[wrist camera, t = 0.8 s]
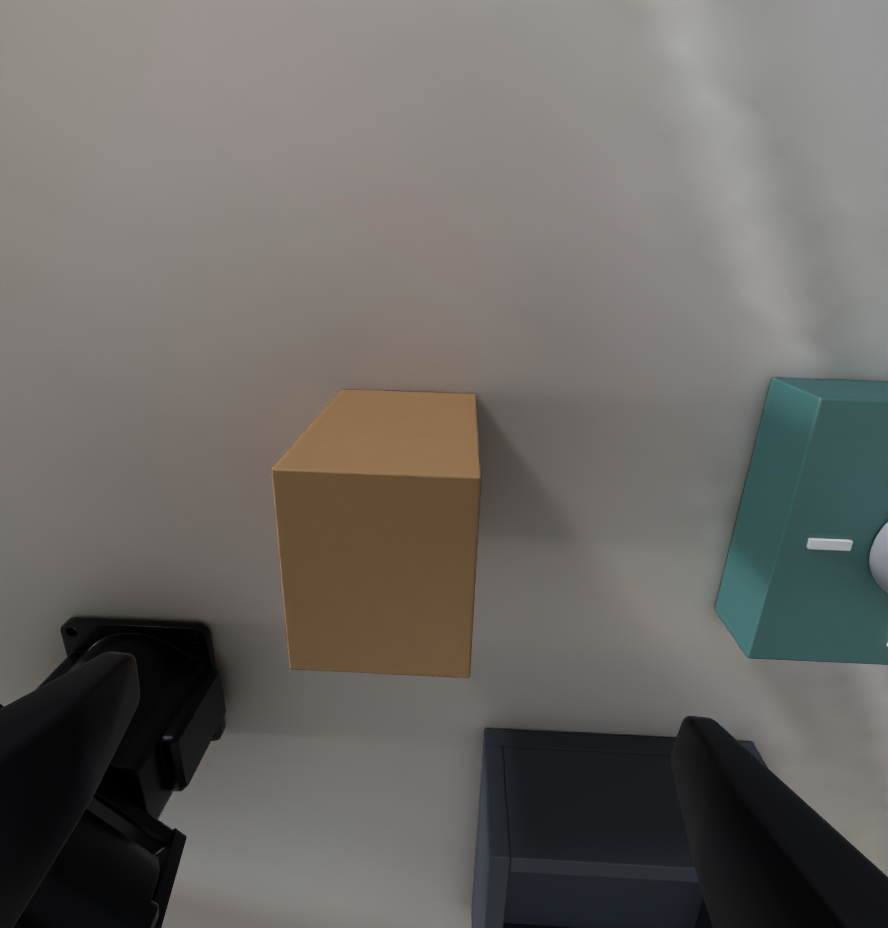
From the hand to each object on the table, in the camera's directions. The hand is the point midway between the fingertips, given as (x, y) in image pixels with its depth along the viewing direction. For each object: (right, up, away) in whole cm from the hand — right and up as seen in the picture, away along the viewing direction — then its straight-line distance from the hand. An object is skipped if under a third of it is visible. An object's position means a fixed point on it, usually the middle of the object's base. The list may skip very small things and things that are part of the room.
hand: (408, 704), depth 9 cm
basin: (+9, -15, +20) cm, 26 cm away
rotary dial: (+17, +2, +12) cm, 21 cm away
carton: (-1, +4, +13) cm, 13 cm away
